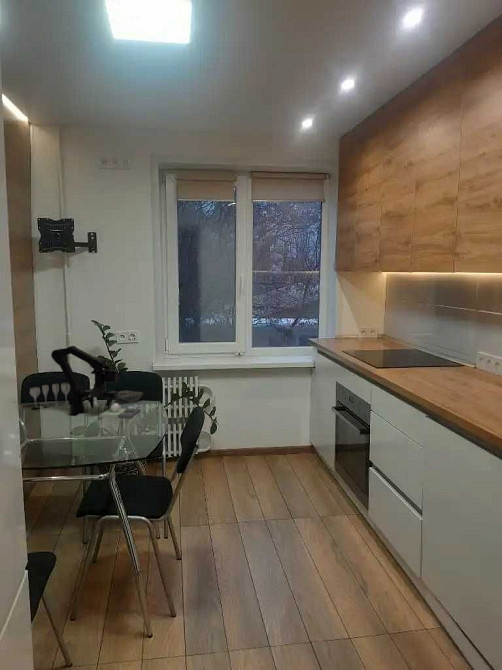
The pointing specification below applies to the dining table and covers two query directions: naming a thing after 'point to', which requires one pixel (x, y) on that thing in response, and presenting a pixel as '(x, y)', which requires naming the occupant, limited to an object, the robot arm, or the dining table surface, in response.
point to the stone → (129, 397)
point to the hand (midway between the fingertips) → (100, 408)
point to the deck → (120, 413)
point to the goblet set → (55, 387)
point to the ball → (115, 407)
